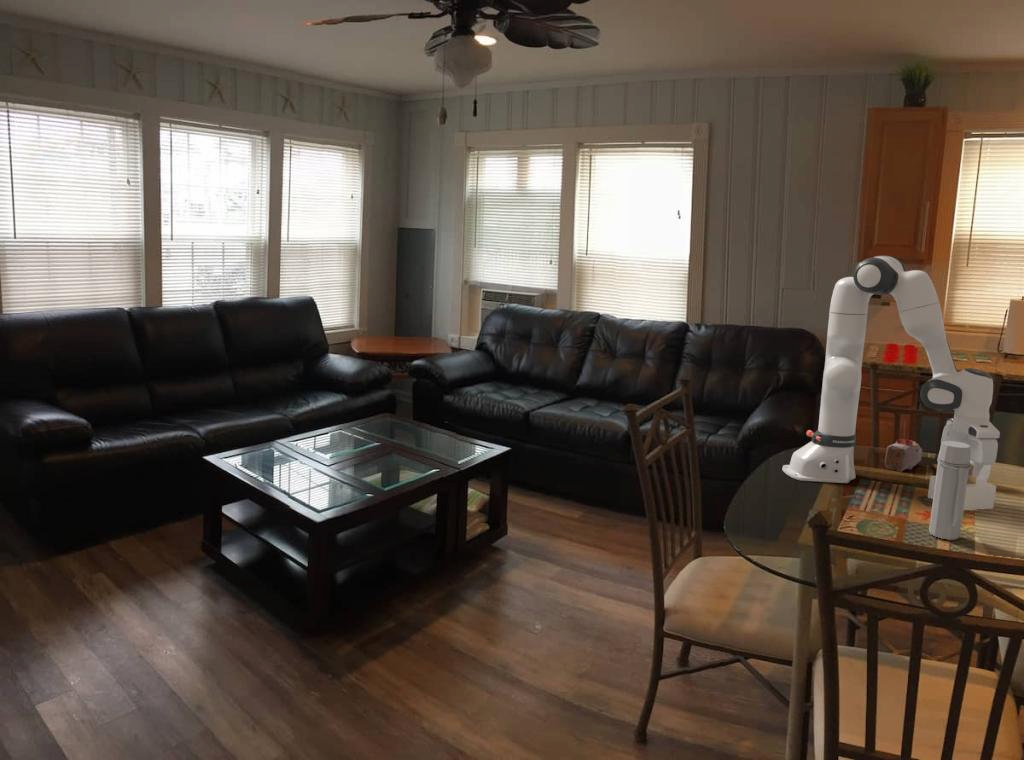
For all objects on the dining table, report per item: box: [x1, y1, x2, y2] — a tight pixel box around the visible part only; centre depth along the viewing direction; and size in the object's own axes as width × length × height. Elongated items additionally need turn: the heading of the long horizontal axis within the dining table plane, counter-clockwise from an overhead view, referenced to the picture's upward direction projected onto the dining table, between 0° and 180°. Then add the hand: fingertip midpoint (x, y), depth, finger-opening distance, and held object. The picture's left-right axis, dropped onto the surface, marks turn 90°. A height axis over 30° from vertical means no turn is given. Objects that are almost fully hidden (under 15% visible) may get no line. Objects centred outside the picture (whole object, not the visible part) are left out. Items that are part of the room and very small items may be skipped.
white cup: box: [970, 460, 992, 483], centre depth 250 cm, size 8×8×10 cm
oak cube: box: [967, 465, 977, 484], centre depth 232 cm, size 5×5×5 cm
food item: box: [884, 438, 923, 473], centre depth 267 cm, size 14×8×10 cm, turn 133°
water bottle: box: [928, 441, 972, 541], centre depth 204 cm, size 9×8×25 cm
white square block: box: [927, 475, 997, 511], centre depth 233 cm, size 12×12×7 cm
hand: (964, 470), depth 232 cm, fingers open, 8 cm apart
